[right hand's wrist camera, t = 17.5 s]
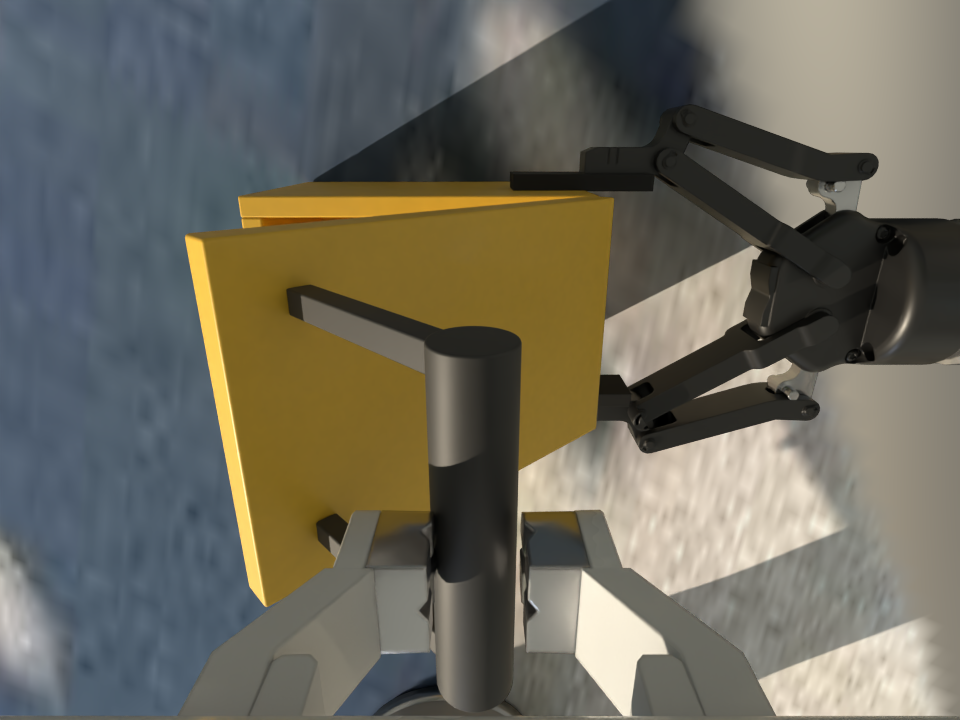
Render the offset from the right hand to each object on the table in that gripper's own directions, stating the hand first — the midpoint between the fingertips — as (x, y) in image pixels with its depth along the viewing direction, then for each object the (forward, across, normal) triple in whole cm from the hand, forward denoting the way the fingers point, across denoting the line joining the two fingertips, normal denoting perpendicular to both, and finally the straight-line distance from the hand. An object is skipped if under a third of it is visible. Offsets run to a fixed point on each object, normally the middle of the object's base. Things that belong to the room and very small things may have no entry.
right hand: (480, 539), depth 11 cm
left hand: (+20, +2, 0) cm, 20 cm away
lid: (+10, -1, 0) cm, 10 cm away
